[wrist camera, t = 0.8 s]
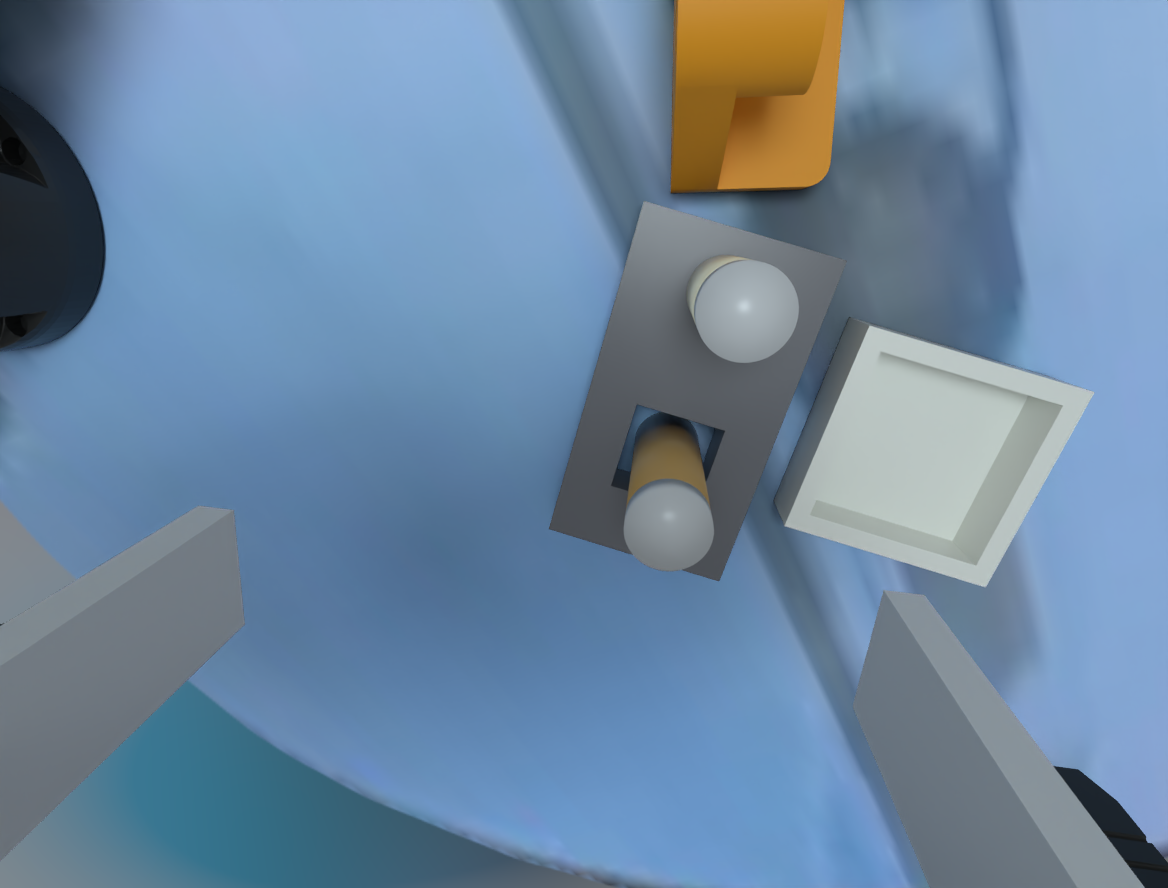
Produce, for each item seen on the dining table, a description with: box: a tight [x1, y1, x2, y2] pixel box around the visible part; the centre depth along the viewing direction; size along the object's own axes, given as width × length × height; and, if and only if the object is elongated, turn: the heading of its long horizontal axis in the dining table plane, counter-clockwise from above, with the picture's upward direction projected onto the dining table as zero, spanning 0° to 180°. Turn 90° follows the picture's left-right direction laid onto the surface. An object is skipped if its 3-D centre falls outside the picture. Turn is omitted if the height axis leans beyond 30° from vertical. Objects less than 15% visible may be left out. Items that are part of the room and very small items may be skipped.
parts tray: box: [774, 317, 1094, 587], centre depth 34 cm, size 11×11×4 cm
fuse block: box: [549, 201, 847, 581], centre depth 31 cm, size 18×10×12 cm, turn 164°
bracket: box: [671, 0, 844, 193], centre depth 26 cm, size 11×7×12 cm, turn 1°
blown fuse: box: [624, 412, 714, 571], centre depth 32 cm, size 4×4×12 cm
